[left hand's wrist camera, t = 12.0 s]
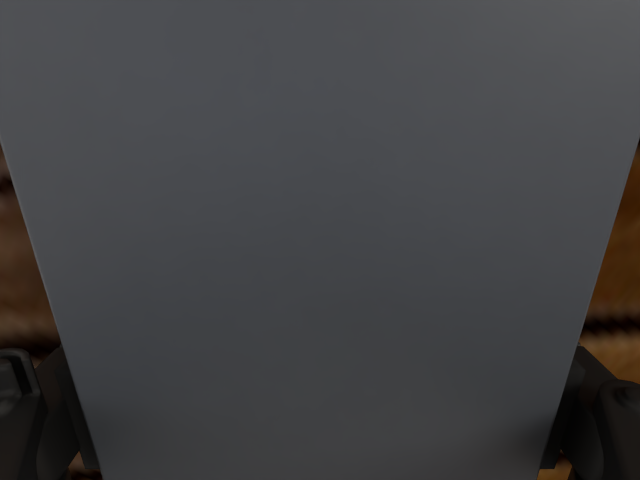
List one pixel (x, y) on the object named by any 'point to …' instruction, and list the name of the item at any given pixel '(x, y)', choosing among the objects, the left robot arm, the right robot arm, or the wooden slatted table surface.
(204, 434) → the long dark gray bar
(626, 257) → the wooden slatted table surface
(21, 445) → the left robot arm
